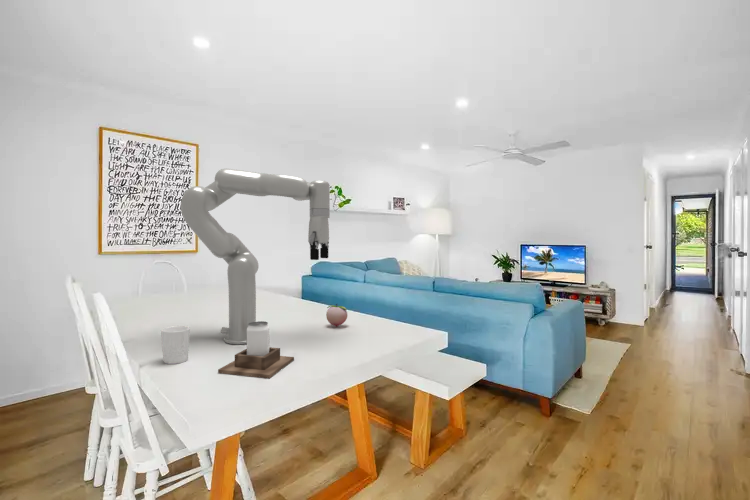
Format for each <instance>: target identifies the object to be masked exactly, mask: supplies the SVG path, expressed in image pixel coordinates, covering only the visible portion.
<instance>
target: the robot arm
mask: <svg viewBox="0 0 750 500" xmlns="http://www.w3.org/2000/svg"><path fill="white" fill-rule="evenodd" d="M330 190H331V188H330V183H329V182H328V181H326V180H324V181H323V180H313V181H309V182H307V181H306V179H304V178H301V177H299V176H298V177H297V176H289V175H284V174H282V175H281V174H273V173H265V172H264V173H263V172H256V171H255V172H254V171H248V170H240V169H233V168H221V169H220V170H219V169H218V171H217V172H216V174H215V176H214V180H213V182H211V183H210V184H209V185H207V186H206V187H204V186H197V185H196V186H191V187H189V188H188V189H187V190H186V191H185V192H184V194H183V196H182V197H181V201H180V212H181V215H182V217H183V220H184V221H185V223H186V224H187V226H188V227H189V228H190V229H191V230H192V232H194V234H195V235H196V236H197V237H198V238H199V240H200V241H201V242H202V243H203V244H204V246H206V247H207V249H208V250H209V251H210V253H211V254H212V255H214V256H215V257H216V258H219V259H223V260H224V261H225V262H226V263H227V270H226V271H227V284H228V285H227V286H228V327H226V326H223V327H221V328H220V330H219V331H220V332H219V333H220V334H225V336H224V337H223V338H224V342H225V343H226V344H231V345H247V328H248V326H249V325H248V324H249V323H251V322H256V321H257V298H256V297H257V295H256V294H257V292H256V291H257V285H256V275H257V274H256V273H257V272H258V270H259V261H258V260H257V258H256V257H255V255H254V254H253V253H252V252H251V251H250V250H249V248H248V247H247V246H246V245H245V244H244V243H243V242H242V241H241V240H240V239H239V237H237V236H236V235H235V234H233V233H231V232H227V231H226V230H225V229H224V228H223V226H222V225H221V224H220V223H219V222H218V221H217V220H216V219H215V217H214V216H212V215H211V214H210V212H211V211H212V210H215V209H216V208H218V207H220V205H223V204H224V203H225V202H227V201H229V200H230V199H231V198H233V197H234V196H235V195H237V194H240V195H247V196H253V197H254V196H255V197H267V196H272V197H273V196H274V197H276V196H277V197H285V198H290V199H291V198H292V199H293V200H295V201H299V202H300V201H308V200H309V222H308V235H307V236H308V239H307V241H308V243H309V255H310V256H309V258H310V259H309V260H311V261H318V260H319V259H328V258H329V247H330V246H329V243H330V228H329V225H330V224H329V219H330V212H331V211H330V204H331V203H330V199H331V198H330V197H331V196H330V193H331V191H330ZM319 246H320V248H319ZM319 250H320V251H319Z"/></svg>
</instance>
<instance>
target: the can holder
mask: <svg viewBox="0 0 750 500" xmlns="http://www.w3.org/2000/svg"><path fill="white" fill-rule="evenodd" d="M294 360H295V357H294V356H287V355H281V347H270V346H269V353H268V354H266V355H265V356H253V355H247V348H245V349H244V350H241V351H239V352H238V353H236V354H234V360H232V361H231V362H229V363H227V364H226V365H224V366H222V367H220V368H219V369H218V370H217V373H218V374H224V375H233V376H235V375H236V376H242V377H243V376H244V377H252V378H263V379H271V378H272V377H274V376H275V375H276V374H277V373H279V372H280V371H282V370H283V369H285V368H286V367H287V366H288V365H290V364H291V363H292V362H293V361H294ZM281 369H282V370H281Z"/></svg>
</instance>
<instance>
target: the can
mask: <svg viewBox="0 0 750 500" xmlns="http://www.w3.org/2000/svg"><path fill="white" fill-rule="evenodd" d="M248 325H249V326H248V328H247V344H246V349H247V355H253V356H265V355H266V354H268V353H269V347H270V326H269V322H268V321H262V320H261V321H259V320H258V321H257V320H256V322H251V323H249V324H248Z"/></svg>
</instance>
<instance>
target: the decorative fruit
mask: <svg viewBox="0 0 750 500" xmlns="http://www.w3.org/2000/svg"><path fill="white" fill-rule="evenodd" d="M326 308H327V311H326V320H327V321H328V323H329V324H330V325H331V326H332V325H333V326H335V327H337V328H338V326H341V325H343V324H344V323H345V322H346V321H347V319H348V308H346V307H345V306H342V305H338V303H336V305H333V304H332V305H328V306H327V307H326Z"/></svg>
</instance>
